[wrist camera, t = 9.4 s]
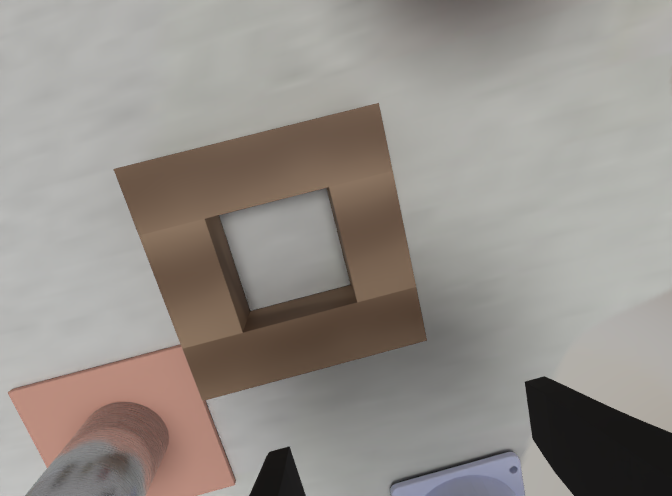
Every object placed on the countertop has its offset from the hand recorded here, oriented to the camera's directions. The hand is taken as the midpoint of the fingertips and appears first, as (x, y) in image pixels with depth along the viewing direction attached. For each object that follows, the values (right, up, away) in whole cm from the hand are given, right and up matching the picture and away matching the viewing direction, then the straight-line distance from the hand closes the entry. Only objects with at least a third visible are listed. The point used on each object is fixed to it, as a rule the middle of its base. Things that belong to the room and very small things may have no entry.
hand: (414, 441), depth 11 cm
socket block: (-5, +6, +8) cm, 11 cm away
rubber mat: (-14, -5, +10) cm, 17 cm away
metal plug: (-14, -5, +9) cm, 17 cm away
